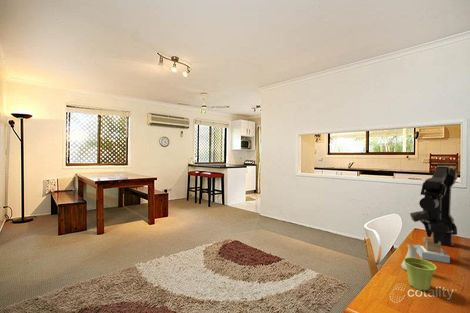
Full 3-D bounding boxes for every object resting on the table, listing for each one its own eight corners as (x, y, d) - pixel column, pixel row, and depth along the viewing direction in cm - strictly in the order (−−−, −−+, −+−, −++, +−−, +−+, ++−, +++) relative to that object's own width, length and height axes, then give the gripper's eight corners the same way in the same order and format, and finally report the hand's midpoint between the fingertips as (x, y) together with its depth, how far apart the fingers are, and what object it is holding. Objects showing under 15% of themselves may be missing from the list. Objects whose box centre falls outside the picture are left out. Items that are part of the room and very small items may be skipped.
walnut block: (423, 246, 114) (423, 236, 114) (436, 248, 112) (436, 238, 112) (427, 250, 109) (427, 240, 109) (440, 252, 107) (440, 242, 107)
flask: (414, 265, 102) (415, 243, 101) (427, 274, 94) (428, 250, 94) (397, 264, 102) (398, 242, 102) (408, 273, 95) (409, 249, 95)
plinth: (415, 250, 117) (415, 244, 117) (440, 254, 113) (441, 247, 113) (421, 258, 108) (422, 252, 108) (449, 263, 104) (449, 256, 104)
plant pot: (438, 297, 79) (439, 272, 79) (404, 288, 84) (404, 264, 84) (433, 284, 87) (433, 261, 87) (402, 276, 92) (402, 255, 92)
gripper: (407, 201, 122) (406, 231, 122) (417, 209, 105) (416, 244, 105) (434, 204, 117) (433, 234, 118) (449, 212, 100) (448, 248, 101)
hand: (432, 240), depth 110 cm, fingers open, 9 cm apart
